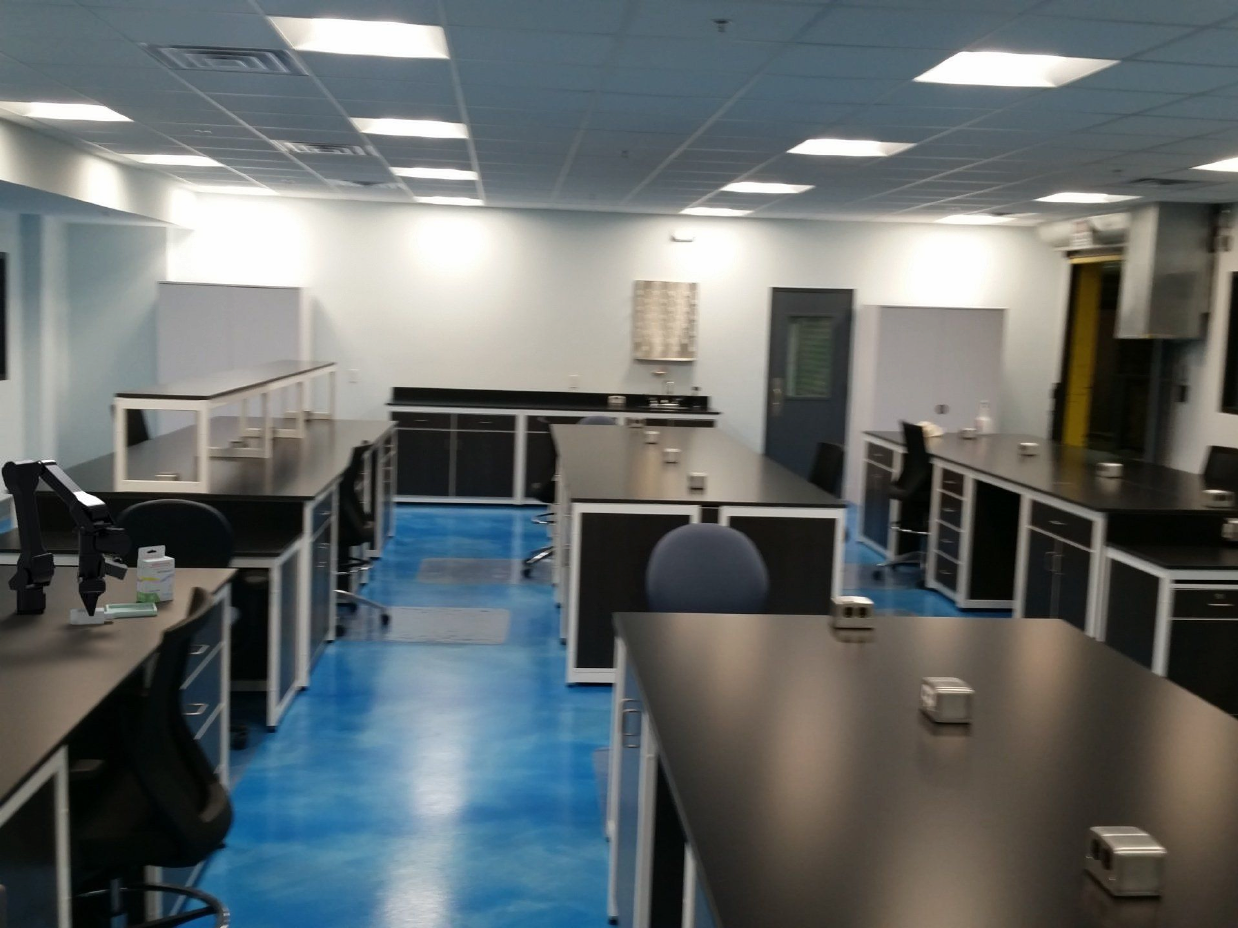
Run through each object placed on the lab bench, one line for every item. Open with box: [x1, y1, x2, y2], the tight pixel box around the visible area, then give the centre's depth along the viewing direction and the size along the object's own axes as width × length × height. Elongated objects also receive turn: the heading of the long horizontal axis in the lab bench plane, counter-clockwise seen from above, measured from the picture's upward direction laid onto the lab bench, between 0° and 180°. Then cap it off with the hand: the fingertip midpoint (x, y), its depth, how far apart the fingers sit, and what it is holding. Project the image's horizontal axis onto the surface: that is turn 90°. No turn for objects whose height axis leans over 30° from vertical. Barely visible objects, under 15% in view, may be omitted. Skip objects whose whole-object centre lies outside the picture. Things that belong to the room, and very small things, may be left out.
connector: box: [69, 607, 115, 626], centre depth 300 cm, size 10×4×3 cm, turn 116°
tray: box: [105, 602, 158, 619], centre depth 312 cm, size 12×9×1 cm
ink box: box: [136, 545, 175, 603], centre depth 326 cm, size 9×5×15 cm, turn 143°
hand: (90, 611), depth 300 cm, fingers open, 9 cm apart
